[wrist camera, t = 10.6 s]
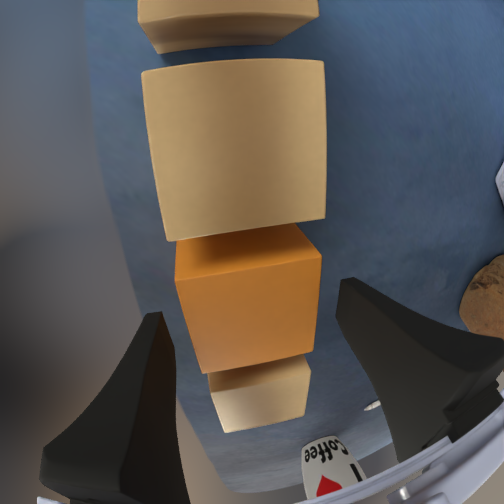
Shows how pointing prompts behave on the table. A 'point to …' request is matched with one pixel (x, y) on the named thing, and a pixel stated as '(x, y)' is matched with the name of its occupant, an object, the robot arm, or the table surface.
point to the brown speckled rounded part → (485, 301)
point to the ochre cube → (249, 295)
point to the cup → (328, 467)
